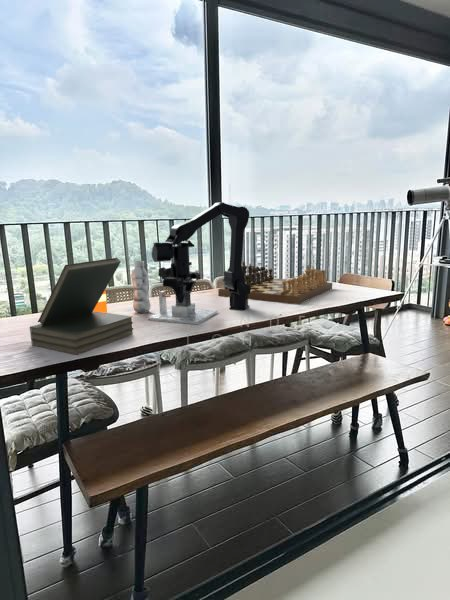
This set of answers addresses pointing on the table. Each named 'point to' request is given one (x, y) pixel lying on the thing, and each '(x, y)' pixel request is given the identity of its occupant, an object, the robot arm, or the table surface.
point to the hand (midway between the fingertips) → (183, 301)
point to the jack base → (180, 312)
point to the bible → (80, 311)
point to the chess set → (282, 285)
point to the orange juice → (101, 304)
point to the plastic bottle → (140, 288)
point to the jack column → (184, 299)
